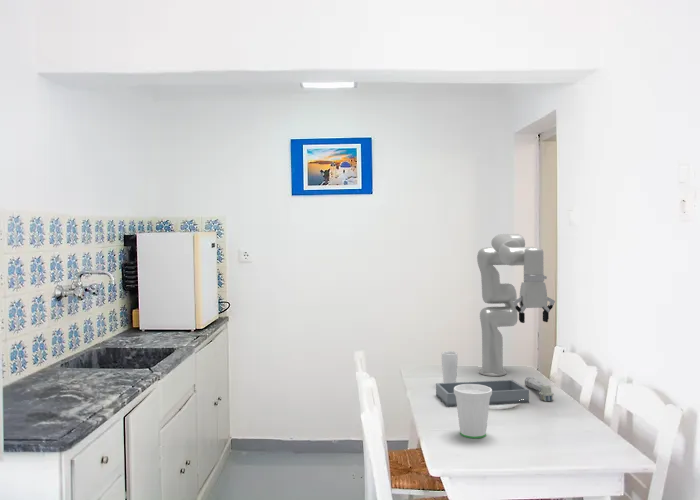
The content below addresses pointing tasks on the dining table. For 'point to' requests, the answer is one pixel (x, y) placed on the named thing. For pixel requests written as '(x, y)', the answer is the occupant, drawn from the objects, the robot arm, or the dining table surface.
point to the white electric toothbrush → (540, 389)
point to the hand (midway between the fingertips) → (533, 322)
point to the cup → (472, 409)
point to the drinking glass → (449, 366)
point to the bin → (500, 392)
